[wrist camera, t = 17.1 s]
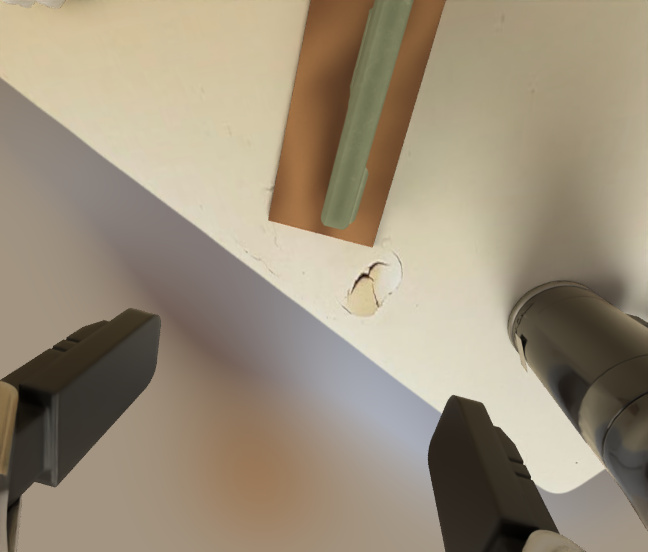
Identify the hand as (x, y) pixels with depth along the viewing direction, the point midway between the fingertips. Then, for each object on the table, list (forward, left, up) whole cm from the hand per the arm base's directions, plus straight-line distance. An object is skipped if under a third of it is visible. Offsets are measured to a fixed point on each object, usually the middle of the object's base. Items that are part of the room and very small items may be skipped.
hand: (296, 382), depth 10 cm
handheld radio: (+1, -12, -30) cm, 32 cm away
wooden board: (+2, -12, -30) cm, 32 cm away
